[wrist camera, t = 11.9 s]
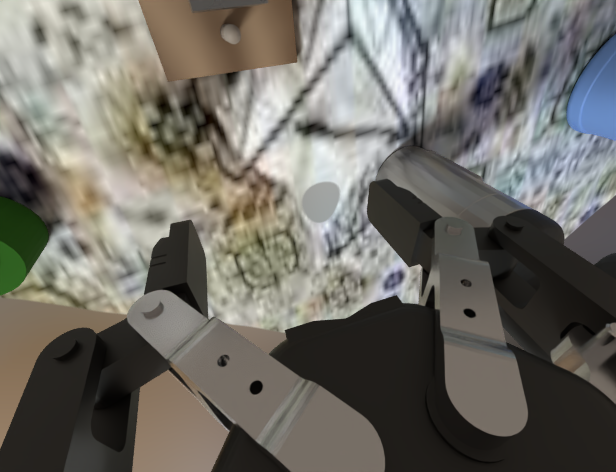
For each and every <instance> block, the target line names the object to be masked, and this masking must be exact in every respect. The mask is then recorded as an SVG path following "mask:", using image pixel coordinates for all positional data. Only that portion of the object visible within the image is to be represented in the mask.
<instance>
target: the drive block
mask: <svg viewBox="0 0 616 472" xmlns="http://www.w3.org/2000/svg"><path fill="white" fill-rule="evenodd" d="M188 1H189V5H190V8H191V12H192V13H199V12H207V11H216V10H225V9H234V8H243V7H252V6H257V5H261V4H266V3H268V0H188Z"/></svg>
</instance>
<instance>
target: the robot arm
mask: <svg viewBox="0 0 616 472" xmlns="http://www.w3.org/2000/svg"><path fill="white" fill-rule="evenodd" d="M367 215H368V218H369V221H370V222H371V223H372V225H373V226H374V227H375V228H376V229H377V230H378V232H379V233H380V234H381V235H382V236H383V237H384V239H385V240H386V241H387V242H388V243H389V244H390V246H391V247H392V248H393V249H394V250H395V251H396V253H397V254H398V255H399V256H400V257H401V258H402V260H403V261H404V262H405V263H406V264H407V265H408V266H409V267H411V266H415V265H418V264H420V265H421V266H422V268H421V272H420V287H419V304H410V303H402V302H401V301H400V299H399V298H398V296H397V295H396V296H393V297H389V298H386V299H383V300H380V301H377V302H373V303H371V304H369V305H367V306H366V307H364V308H363V309H361V310H360V311H358V312H356V313H355V314H353V315H352V316H350V317H348V318H346V319H334V320H320V321H312V322H309V323H306V324H303V325H300V326H296V327H293V328H290V329H287V330H285V333H286V338H287V339H286V340H285V341H283V342H282V343H280V344H279V345H278V346H277V347H275V348H274V349H273V350H272V351H271V352H270V353H269V354H267V353H266V352H264V351H263V350H261V349H260V348H259V347H257V346H256V345H255V344H253V343H252V342H250V341H249V340H248V339H246V338H245V337H243V336H242V335H241V334H239V333H238V332H236V331H235V330H234V329H232V328H231V327H229V326H228V325H227V324H225V323H224V322H222V321H221V320H220V319H218V318H216V317H212V318H211V319H210V320H209V319H208V302H207V273H206V258H205V253H204V250H203V247H202V245H201V242H200V240H199V237H198V235H197V232H196V229H195V227H194V225H193V222H192V221H191V220H186V221H181V222H177V223H172V224H171V226H170V234H169V237H166V238H161V239H160V240H159V241H158V242H157V244H156V245H155V246H154V248H153V251H152V256H151V258H152V259H151V261H150V268H149V272H148V277H147V282H146V287H145V292H144V296H142V297H141V298H139V299H138V300H137V301H136V302H135V303H134V304H133V305H132V306H131V308H130V309H129V311H128V314H127V318H126V319H124V320H123V321H121V322H119V323H117V324H115V325H113V326H111V327H109V328H107V329H105V330H104V331H101V332H100V333H97V334H96V333H95V332H94V331H93V330H92V329H90V328H77V329H73V330H71V331H68V332H66V333H64V334H62V335H60V336H59V337H57V338H56V339H54V340H53V341H52V342H51V343H49V345H47V346H46V347H45V349H44V350H43V351H42V352H41V353H40V355H39V357H38V359H37V360H36V363H35V365H34V368H33V371H32V373H31V375H30V378H29V380H28V383H27V385H26V388H25V390H24V393H23V395H22V397H21V400H20V402H19V405H18V407H17V409H16V412H15V414H14V417H13V419H12V422H11V424H10V427H9V429H8V431H7V434H6V436H5V439H4V441H3V444H2V446H1V449H0V472H132V466H133V455H134V445H135V434H136V423H137V412H138V401H139V392H140V387H141V386H143V385H144V384H146V383H147V382H149V381H150V380H152V379H154V378H155V377H157V376H159V375H160V374H161V373H163V372H165V371H167V370H168V371H169V372H170V373H171V374H172V375H173V376H174V377H175V378H176V379H177V380H178V381H179V382H180V383H181V384H182V385H183V386H184V387H185V388H186V389H187V390H188V391H189V392H190V393H191V394H192V395H193V396H194V397H195V398H196V399H197V400H198V401H199V402H200V403H201V404H202V405H203V406H204V407H205V408H206V409H207V410H208V412H209V413H210V414H211V415H212V416H213V417H214V418H215V419H216V420H217V421H218V422H219V423H220V424H221V425H222V426H223V427H224V428H225V429H226V430H227V431H228V432H229V434H228V436H227V438H226V441H225V443H224V445H223V447H222V449H221V451H220V454H219V456H218V458H217V460H216V462H215V464H214V466H213V469H212V471H211V472H616V253H613V254H610V255H608V256H606V257H604V258H602V259H601V260H600V261H599V262H598V263H596V264H595V265H593V264H591V263H590V262H588V261H587V260H585V259H584V258H582V257H581V256H579V255H578V254H576V253H575V252H573V251H571V250H570V249H569V248H567V247H566V246H564V233H563V230H562V228H561V227H560V225H559V224H558V223H556V222H555V221H554V220H552V219H550V218H549V217H547V216H545V215H543V214H541V213H540V212H538V211H536V210H534V209H532V208H530V207H528V206H526V205H525V204H523V203H521V202H519V201H517V200H516V199H514V198H512V197H510V196H508V195H506V194H504V193H502V192H501V191H499V190H497V189H495V188H493V187H491V186H490V185H488V184H486V183H484V182H483V178H482V177H481V176H479V175H477V174H475V173H473V172H471V171H469V170H467V169H466V168H464V167H462V166H460V165H458V164H456V163H454V162H452V161H451V160H449V159H447V158H445V157H443V156H441V155H439V154H437V153H436V152H434V151H426V150H424V149H422V148H420V147H417V146H408V147H404V148H402V149H400V150H398V151H396V152H395V153H393V154H392V155H391V156H390V157H389V158H388V159H387V160H386V161H385V162H384V163H383V165H382V166H381V168H380V170H379V171H378V174H377V177H376V181H373V182H371V183H370V186H369V196H368V206H367ZM502 326H503V327H502ZM503 328H504V329H505V330H506V331H507V332H508V333H509V334H510V335H511V336H512V337H513V338H514V339H515V340H516V341H517V342H518V344H519V345H520V346H521V347H522V348H523V349H524V350H525V351H524V350H522V349H520V348H518V347H515V346H513V345H511V344H509V343H507V342H505V337H504V332H503Z"/></svg>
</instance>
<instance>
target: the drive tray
mask: <svg viewBox="0 0 616 472" xmlns="http://www.w3.org/2000/svg"><path fill="white" fill-rule="evenodd" d="M139 3H140V6H141V9H142V11H143V14H144V17H145V20H146V22H147V25H148V28H149V31H150V33H151V36H152V39H153V42H154V44H155V47H156V50H157V52H158V55H159V58H160V61H161V63H162V66H163V69H164V72H165V74H166V77H167V80H168V82H169V81H176V80H183V79H189V78H196V77H203V76H209V75H216V74H223V73H229V72H236V71H243V70H249V69H256V68H263V67H269V66H276V65H283V64H289V63H296V62H297V54H296V43H295V32H294V21H293V10H292V0H268V3H266V4H261V5H257V6H252V7H243V8H234V9H225V10H216V11H207V12H199V13H192V12H191V8H190V5H189V1H188V0H139Z"/></svg>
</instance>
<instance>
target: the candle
mask: <svg viewBox="0 0 616 472" xmlns="http://www.w3.org/2000/svg"><path fill="white" fill-rule="evenodd" d="M48 238H49V234H48V229H47V227H46V225H45V224H44V222H43V221H42V220H41V218H40V217H39V216H38V215H36V214H35V213H34V212H33V211H32V210H30V209H28V208H27V207H25V206H24V205H22V204H20V203H17V202H15V201H13V200H10V199H7V198H4V197H1V196H0V295H3V294H5V293H8V292H10V291H12V290H14V289H15V288H17V287H18V286H19V285H20V284H21V283H22V282H23V281H24V279H25V278H26V276H27V275H28V273H29V272H30V270H31V268H32V267H33V265H34V264H35V262H36V261H37V259H38V257H39V256H40V254H41V253H42V251H43V250H44V248H45V247H46V245H47V242H48Z"/></svg>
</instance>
